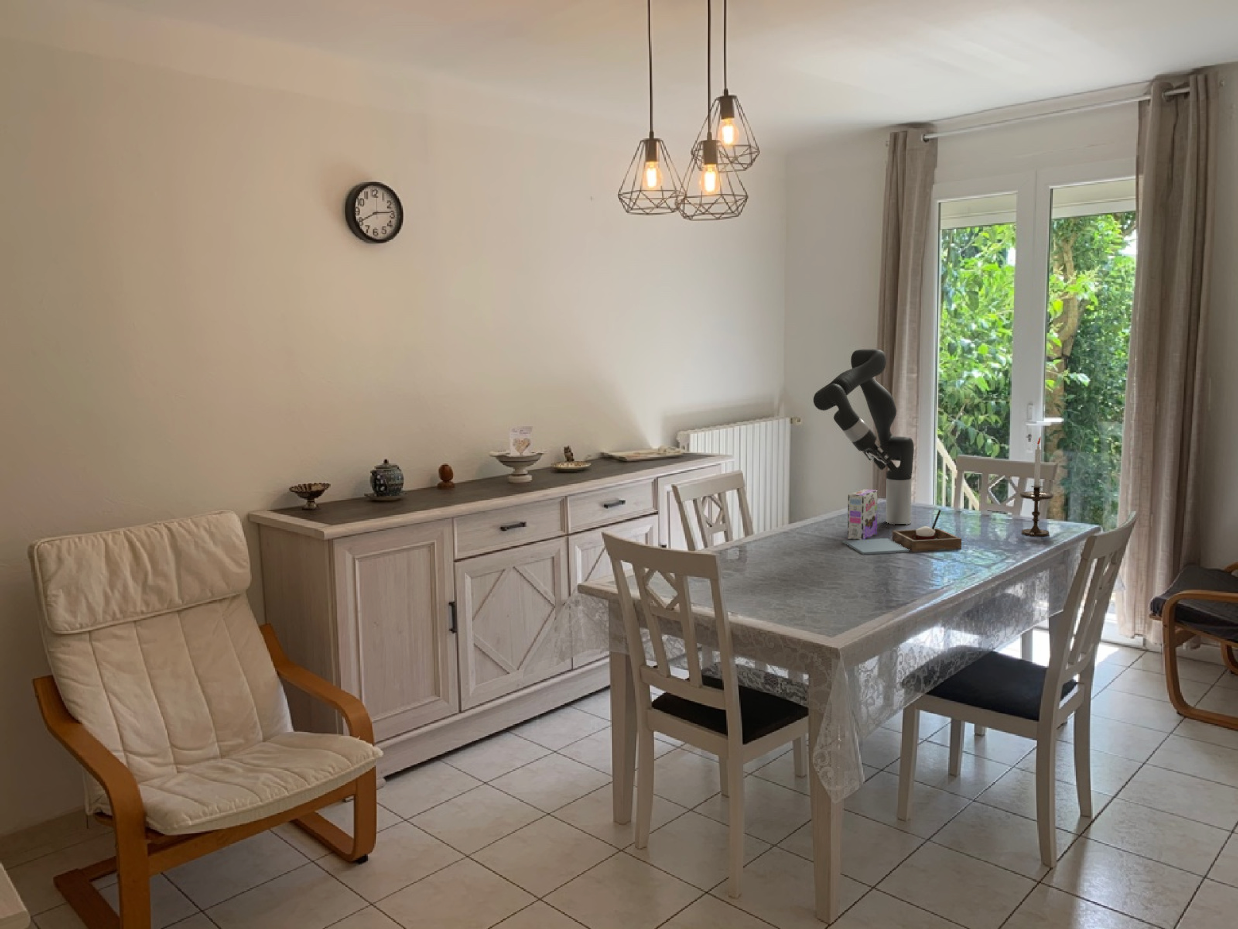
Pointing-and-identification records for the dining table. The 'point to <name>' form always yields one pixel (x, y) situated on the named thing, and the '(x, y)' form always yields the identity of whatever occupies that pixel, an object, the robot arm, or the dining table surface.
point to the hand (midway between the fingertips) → (889, 469)
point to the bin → (942, 541)
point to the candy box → (862, 514)
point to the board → (876, 546)
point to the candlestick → (1036, 497)
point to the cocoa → (926, 531)
